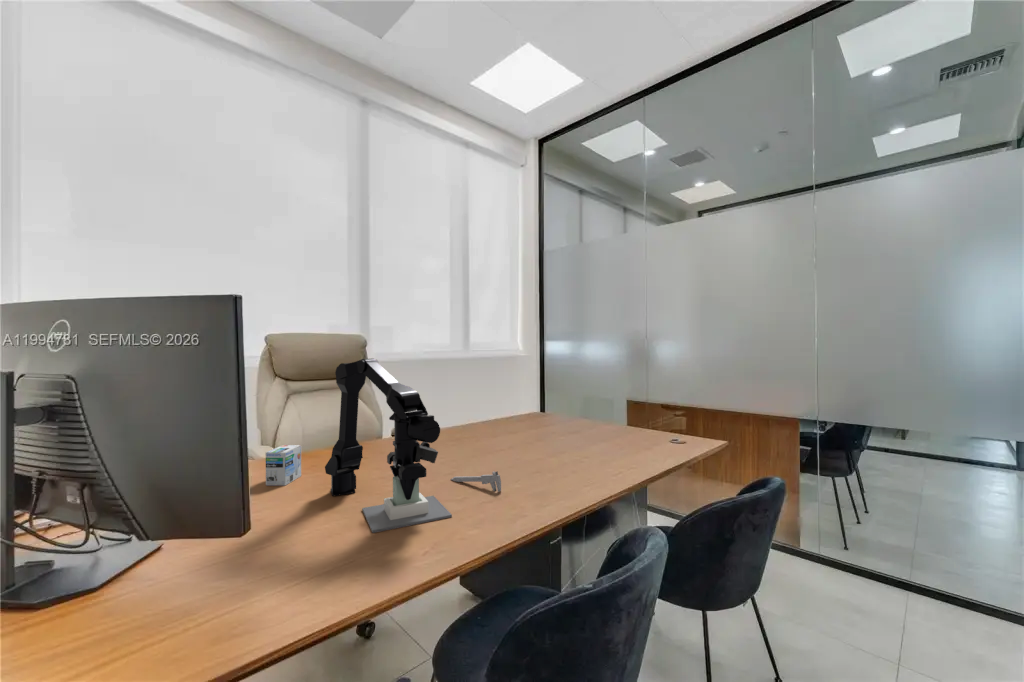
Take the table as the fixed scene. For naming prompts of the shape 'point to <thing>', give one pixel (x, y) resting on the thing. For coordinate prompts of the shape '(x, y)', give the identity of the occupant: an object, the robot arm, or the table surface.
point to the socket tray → (404, 513)
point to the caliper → (482, 480)
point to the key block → (399, 495)
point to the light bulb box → (283, 465)
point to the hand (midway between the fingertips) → (405, 496)
